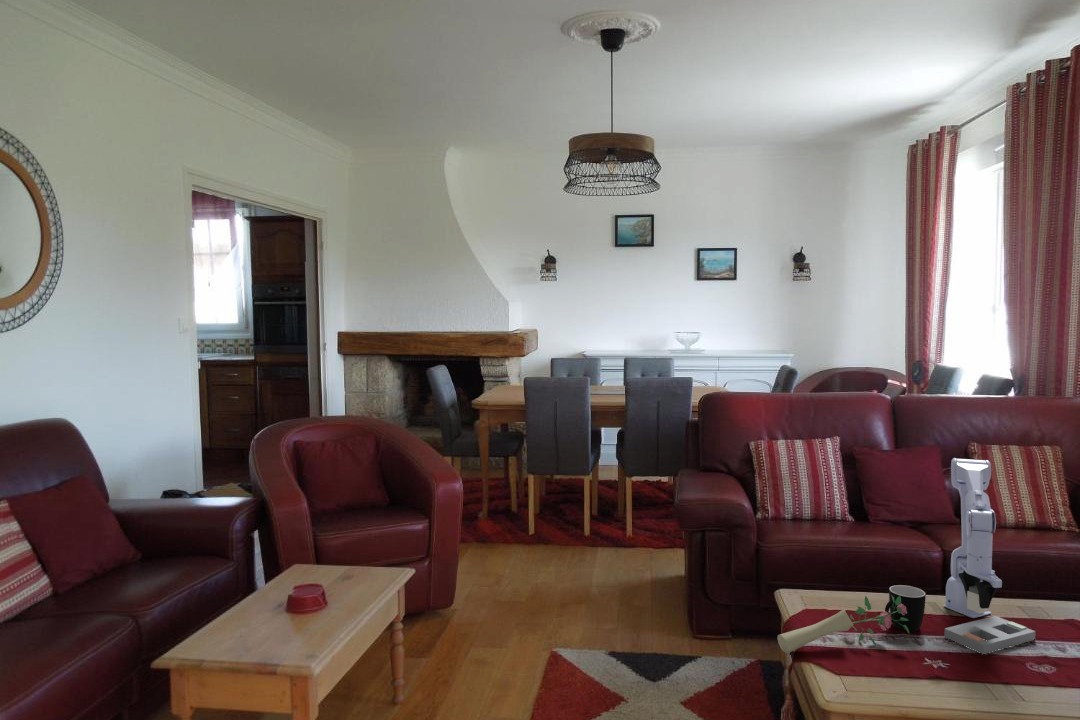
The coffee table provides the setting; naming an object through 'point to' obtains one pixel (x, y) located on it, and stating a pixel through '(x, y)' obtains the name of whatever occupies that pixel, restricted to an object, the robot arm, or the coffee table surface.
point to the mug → (907, 606)
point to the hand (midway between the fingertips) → (977, 604)
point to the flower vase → (836, 627)
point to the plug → (974, 600)
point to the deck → (989, 634)
